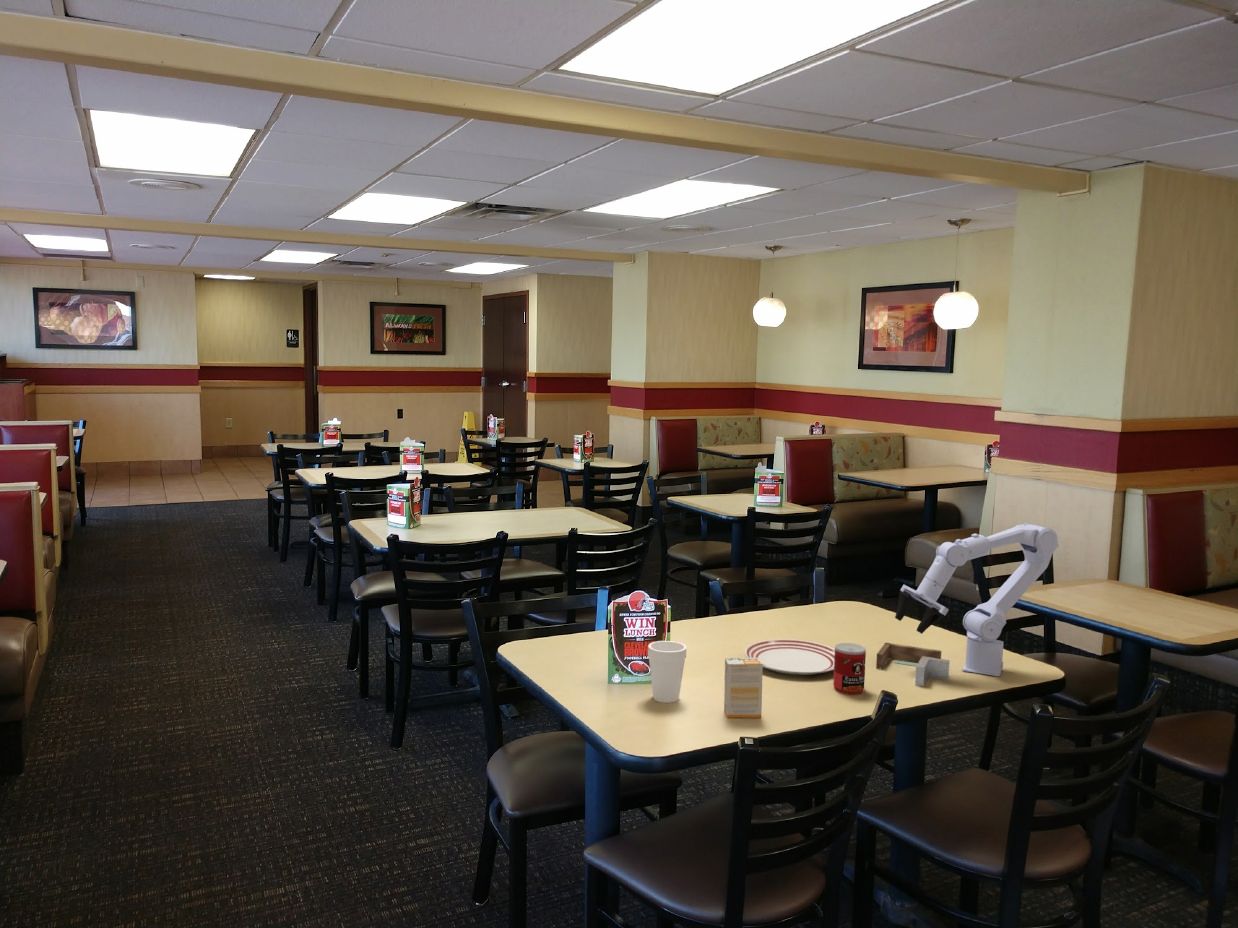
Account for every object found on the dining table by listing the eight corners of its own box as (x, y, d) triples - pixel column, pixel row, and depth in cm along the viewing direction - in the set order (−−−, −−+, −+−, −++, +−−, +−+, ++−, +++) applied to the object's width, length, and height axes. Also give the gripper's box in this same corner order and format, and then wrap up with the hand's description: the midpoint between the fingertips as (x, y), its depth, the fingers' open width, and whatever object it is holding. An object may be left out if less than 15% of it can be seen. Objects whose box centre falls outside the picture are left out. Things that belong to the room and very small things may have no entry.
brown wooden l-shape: (940, 664, 249) (941, 650, 249) (934, 677, 238) (935, 662, 238) (884, 656, 256) (885, 642, 256) (876, 667, 245) (876, 653, 245)
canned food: (843, 695, 223) (844, 652, 222) (827, 685, 231) (829, 643, 230) (870, 693, 225) (872, 650, 224) (853, 682, 233) (855, 641, 232)
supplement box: (757, 710, 212) (759, 656, 211) (761, 718, 207) (763, 663, 206) (723, 710, 212) (724, 656, 210) (726, 718, 207) (727, 663, 206)
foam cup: (693, 698, 219) (694, 646, 218) (667, 707, 213) (668, 654, 211) (664, 688, 226) (665, 638, 225) (639, 697, 219) (640, 645, 218)
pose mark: (930, 666, 247) (930, 666, 247) (927, 673, 241) (927, 673, 241) (895, 661, 251) (895, 660, 251) (891, 667, 245) (891, 667, 245)
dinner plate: (856, 682, 234) (857, 669, 234) (752, 680, 234) (752, 668, 233) (831, 650, 261) (831, 639, 261) (737, 649, 261) (738, 638, 261)
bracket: (921, 674, 241) (922, 656, 240) (948, 678, 237) (949, 660, 237) (915, 685, 232) (916, 666, 231) (943, 689, 229) (944, 670, 228)
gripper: (906, 566, 244) (880, 609, 244) (948, 588, 232) (921, 633, 233) (919, 575, 248) (893, 617, 248) (961, 597, 237) (934, 641, 237)
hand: (908, 625), depth 241 cm, fingers open, 7 cm apart
